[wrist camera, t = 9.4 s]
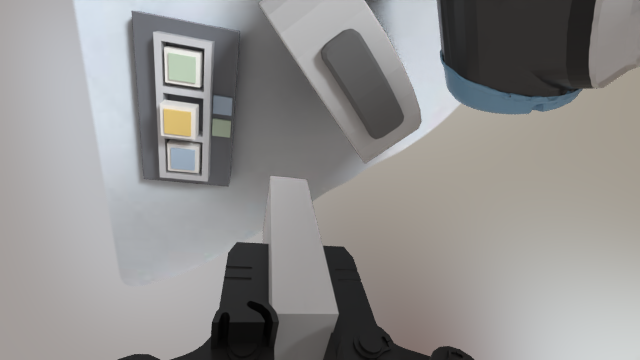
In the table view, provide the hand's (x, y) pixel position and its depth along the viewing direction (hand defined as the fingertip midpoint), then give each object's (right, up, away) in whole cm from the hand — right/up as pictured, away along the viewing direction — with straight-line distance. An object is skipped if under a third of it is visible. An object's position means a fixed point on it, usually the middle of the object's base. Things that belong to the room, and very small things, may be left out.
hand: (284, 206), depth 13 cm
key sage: (-15, +15, +26) cm, 34 cm away
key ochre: (-16, +9, +26) cm, 32 cm away
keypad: (-17, +11, +31) cm, 37 cm away
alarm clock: (+3, +18, +31) cm, 36 cm away
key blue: (-18, +5, +31) cm, 36 cm away
